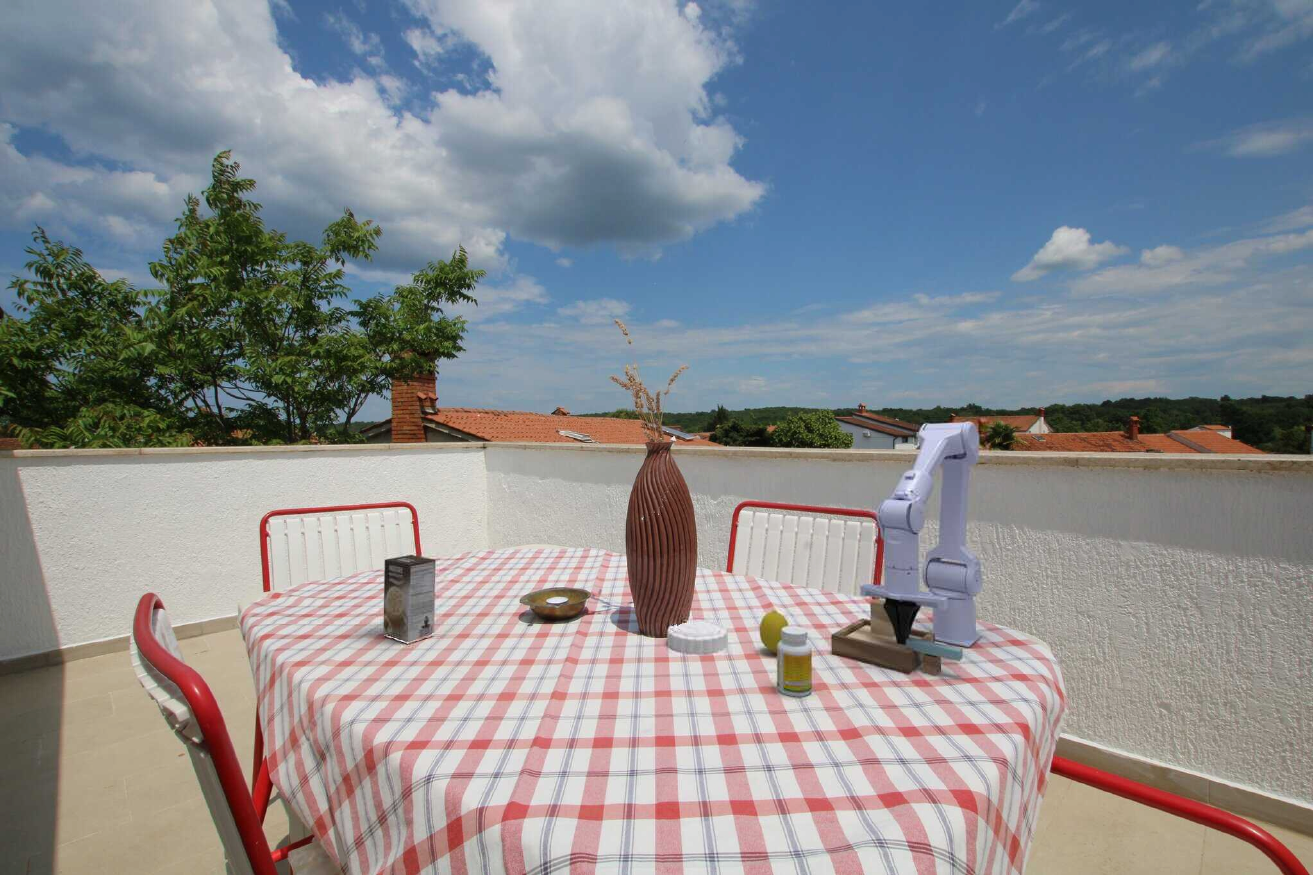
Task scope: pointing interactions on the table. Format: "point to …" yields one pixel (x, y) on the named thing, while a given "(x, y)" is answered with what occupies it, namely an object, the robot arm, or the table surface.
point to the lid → (879, 628)
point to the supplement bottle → (794, 662)
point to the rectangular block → (935, 649)
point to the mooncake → (697, 637)
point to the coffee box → (409, 597)
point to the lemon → (772, 630)
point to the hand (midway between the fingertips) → (902, 642)
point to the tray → (884, 651)
